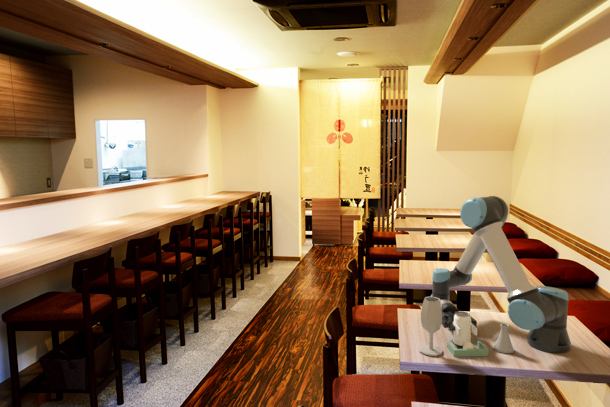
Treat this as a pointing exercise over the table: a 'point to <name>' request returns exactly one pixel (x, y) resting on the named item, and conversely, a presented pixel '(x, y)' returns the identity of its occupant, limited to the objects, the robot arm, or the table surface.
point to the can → (462, 328)
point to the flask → (504, 340)
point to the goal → (468, 350)
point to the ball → (468, 345)
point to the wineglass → (431, 323)
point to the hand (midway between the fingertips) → (467, 332)
